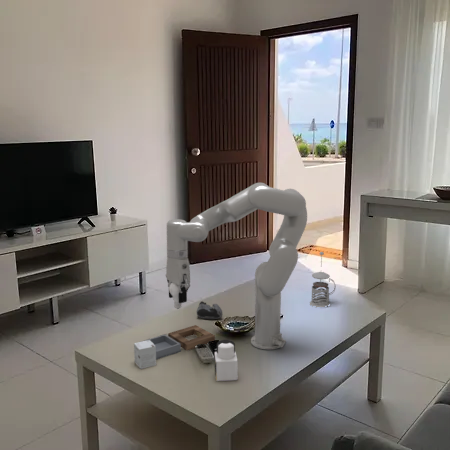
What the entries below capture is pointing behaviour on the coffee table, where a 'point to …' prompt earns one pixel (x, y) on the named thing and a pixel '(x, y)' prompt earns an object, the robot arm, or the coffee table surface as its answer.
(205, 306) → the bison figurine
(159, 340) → the tray
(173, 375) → the coffee table surface
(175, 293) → the lightbulb
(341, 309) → the coffee table surface
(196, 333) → the socket collar
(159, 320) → the coffee table surface
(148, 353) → the skincare box
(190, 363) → the coffee table surface
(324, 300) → the french press
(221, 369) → the medicine bottle
